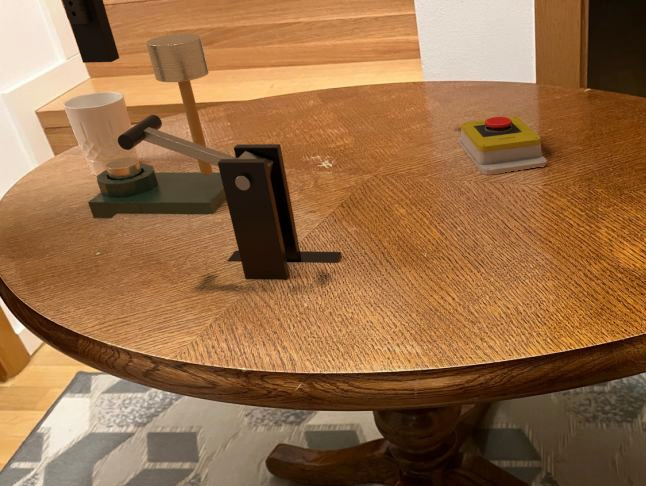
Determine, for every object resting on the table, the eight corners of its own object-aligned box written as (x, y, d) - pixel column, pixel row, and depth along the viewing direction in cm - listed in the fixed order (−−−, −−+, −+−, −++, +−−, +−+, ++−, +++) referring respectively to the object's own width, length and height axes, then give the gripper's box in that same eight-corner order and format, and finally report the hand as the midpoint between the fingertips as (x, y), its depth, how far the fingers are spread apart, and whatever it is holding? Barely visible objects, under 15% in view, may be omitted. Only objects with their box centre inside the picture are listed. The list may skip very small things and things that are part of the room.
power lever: (116, 151, 67) (117, 127, 66) (146, 130, 72) (148, 107, 71) (255, 199, 68) (259, 176, 67) (275, 175, 73) (279, 153, 72)
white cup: (85, 166, 108) (61, 97, 103) (140, 155, 111) (120, 88, 106) (89, 183, 103) (64, 111, 97) (147, 171, 105) (126, 101, 100)
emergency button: (515, 104, 110) (550, 135, 98) (515, 133, 112) (549, 166, 100) (455, 111, 108) (483, 143, 96) (456, 140, 110) (483, 175, 98)
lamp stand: (174, 182, 90) (136, 46, 81) (194, 164, 95) (160, 34, 86) (220, 182, 90) (187, 44, 81) (238, 164, 95) (208, 33, 86)
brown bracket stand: (205, 301, 74) (168, 170, 66) (237, 259, 81) (207, 137, 73) (320, 304, 72) (297, 170, 65) (342, 261, 80) (324, 136, 72)
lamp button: (103, 182, 93) (99, 168, 92) (119, 170, 96) (115, 157, 95) (133, 182, 92) (129, 168, 91) (148, 170, 95) (144, 157, 94)
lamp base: (90, 218, 92) (79, 188, 90) (128, 187, 101) (119, 159, 98) (214, 219, 90) (206, 188, 88) (242, 187, 99) (236, 159, 96)
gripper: (-16, -303, 46) (103, 79, 60) (92, -277, 57) (172, 43, 70) (-122, -295, 47) (18, 80, 61) (4, -270, 58) (99, 44, 71)
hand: (101, 60), depth 65 cm, fingers closed
